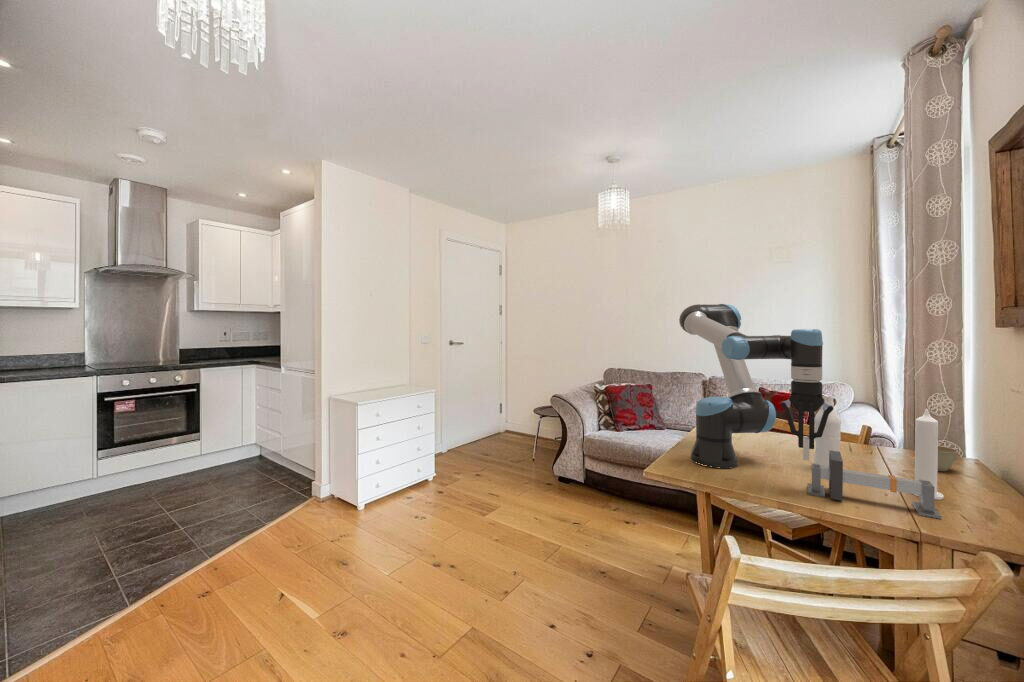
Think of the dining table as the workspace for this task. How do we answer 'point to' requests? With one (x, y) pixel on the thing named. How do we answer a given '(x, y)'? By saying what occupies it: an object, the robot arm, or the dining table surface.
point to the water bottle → (827, 435)
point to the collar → (836, 475)
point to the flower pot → (946, 458)
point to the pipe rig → (880, 486)
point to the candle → (927, 451)
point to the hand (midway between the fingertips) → (806, 458)
